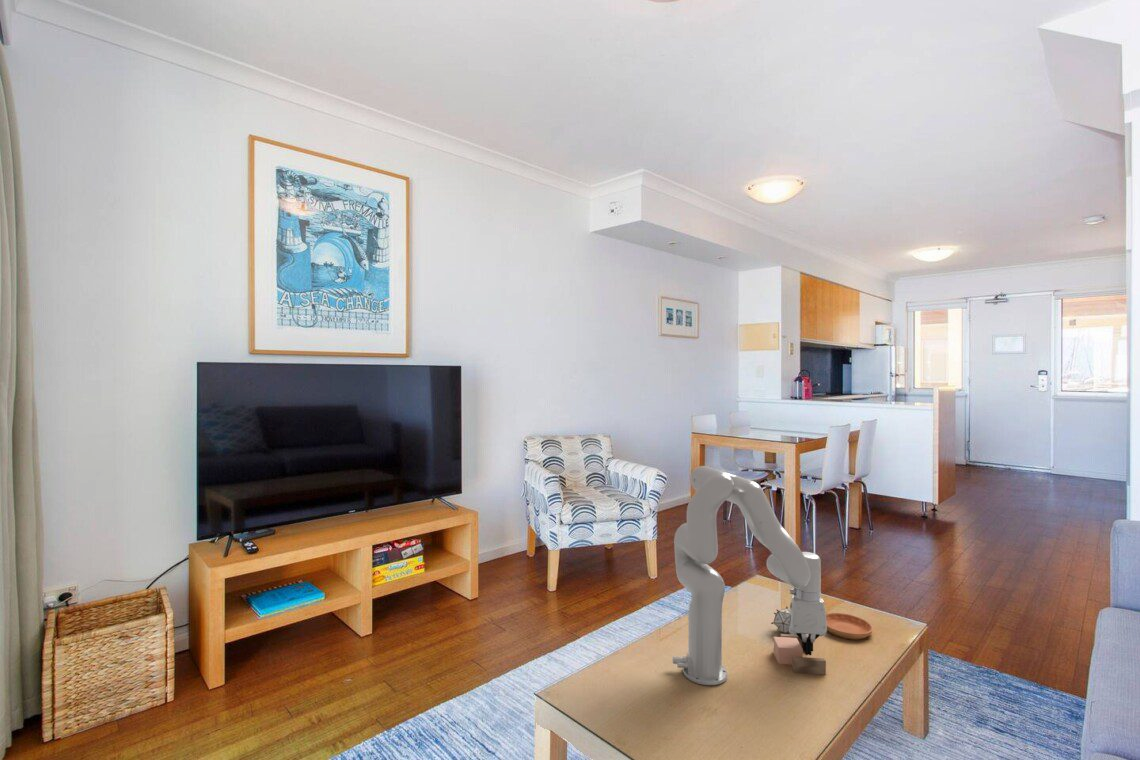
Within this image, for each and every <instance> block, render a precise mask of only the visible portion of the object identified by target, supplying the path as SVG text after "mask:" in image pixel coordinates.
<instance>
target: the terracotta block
mask: <svg viewBox="0 0 1140 760" xmlns="http://www.w3.org/2000/svg"><path fill="white" fill-rule="evenodd" d="M773 654H774V656H775V658H776V661H777V663H778V664H779V665H792V657H804V651H803V648H802V647H801V645H800V643H799V641H798V639H797V638H789V637H780V636H773Z"/></svg>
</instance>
